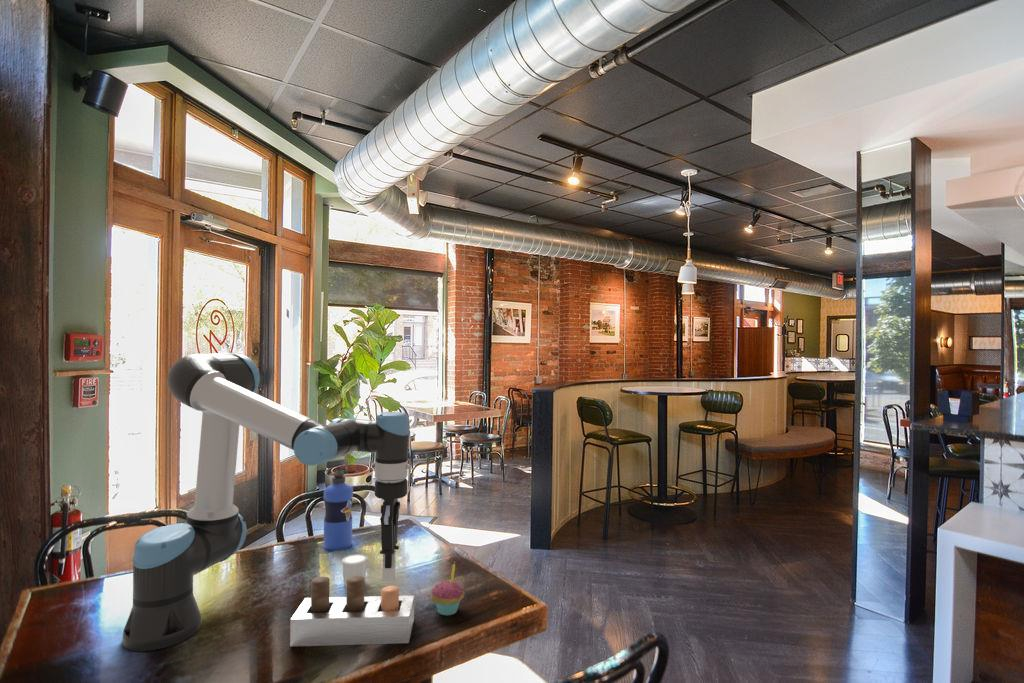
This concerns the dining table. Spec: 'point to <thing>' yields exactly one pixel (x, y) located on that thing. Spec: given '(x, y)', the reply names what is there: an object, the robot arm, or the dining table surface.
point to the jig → (352, 623)
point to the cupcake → (448, 595)
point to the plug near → (320, 595)
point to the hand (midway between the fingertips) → (388, 579)
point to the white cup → (354, 566)
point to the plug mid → (355, 594)
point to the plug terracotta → (390, 598)
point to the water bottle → (338, 513)
